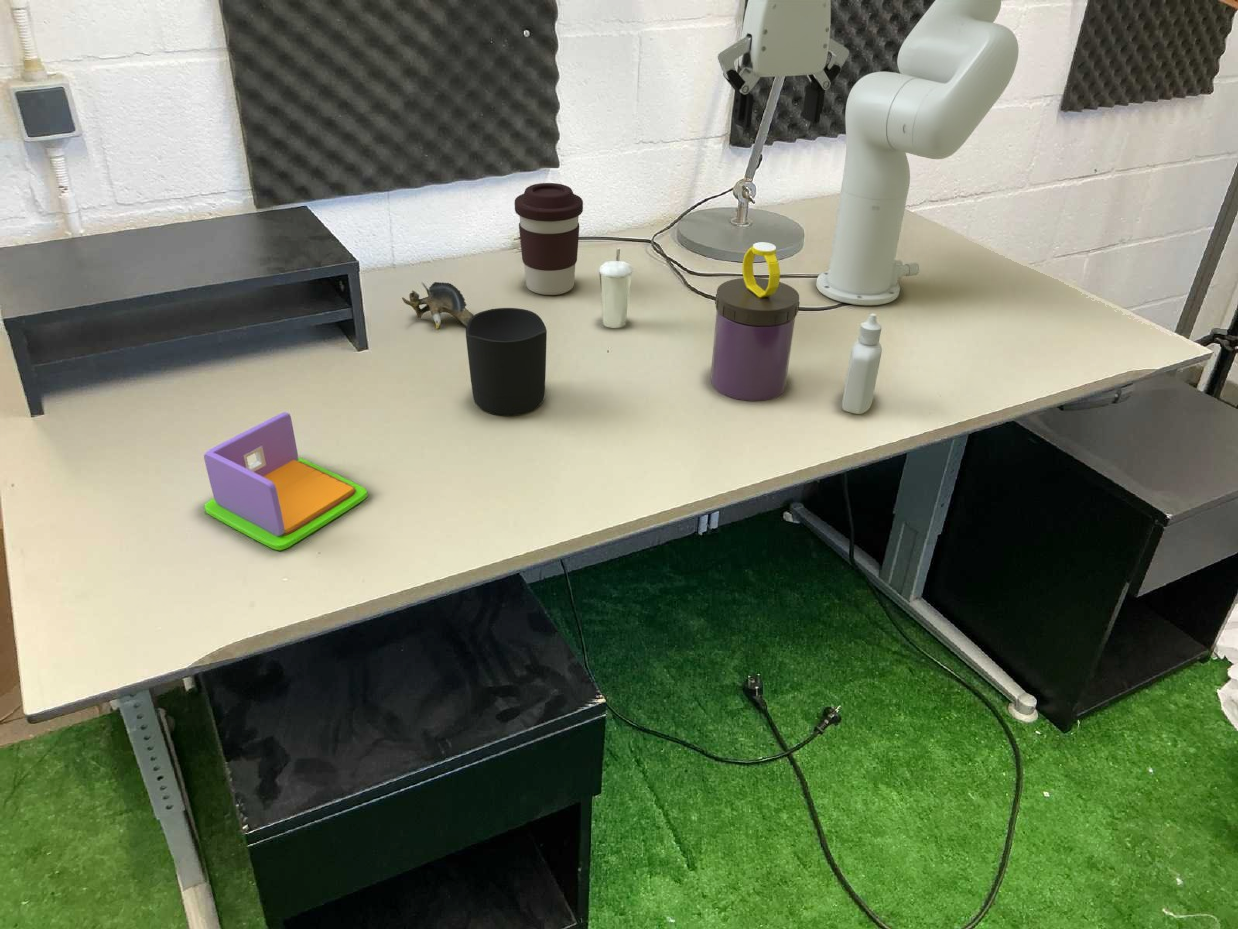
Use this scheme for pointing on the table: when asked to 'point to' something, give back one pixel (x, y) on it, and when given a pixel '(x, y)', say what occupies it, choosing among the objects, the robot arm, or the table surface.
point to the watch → (773, 267)
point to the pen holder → (507, 360)
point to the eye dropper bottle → (863, 368)
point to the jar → (750, 359)
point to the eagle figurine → (440, 302)
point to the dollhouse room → (274, 486)
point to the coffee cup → (549, 236)
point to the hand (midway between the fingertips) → (776, 123)
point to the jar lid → (756, 303)
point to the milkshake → (615, 291)
